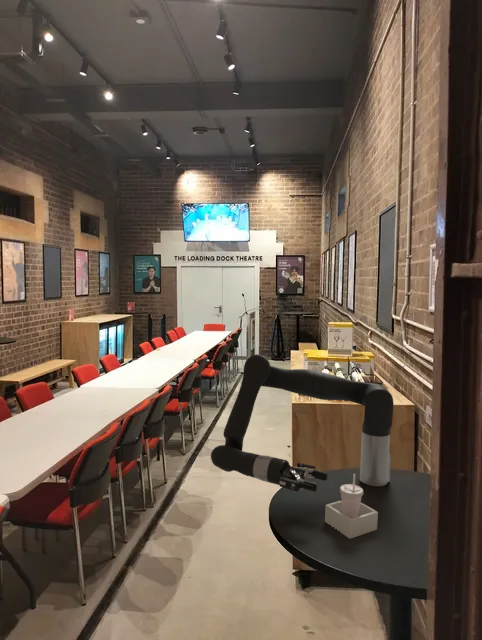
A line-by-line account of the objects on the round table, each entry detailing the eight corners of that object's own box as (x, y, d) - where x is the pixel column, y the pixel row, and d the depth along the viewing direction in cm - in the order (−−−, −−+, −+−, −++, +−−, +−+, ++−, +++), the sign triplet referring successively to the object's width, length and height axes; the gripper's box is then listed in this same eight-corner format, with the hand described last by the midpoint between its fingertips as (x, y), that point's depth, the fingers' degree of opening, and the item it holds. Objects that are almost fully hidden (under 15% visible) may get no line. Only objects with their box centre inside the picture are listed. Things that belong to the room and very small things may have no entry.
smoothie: (362, 529, 129) (364, 479, 128) (338, 526, 130) (340, 477, 129) (361, 517, 135) (363, 470, 134) (338, 515, 136) (340, 468, 135)
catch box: (351, 513, 140) (352, 497, 139) (377, 529, 131) (377, 512, 130) (324, 521, 134) (325, 504, 134) (349, 538, 126) (350, 520, 125)
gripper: (260, 465, 137) (313, 478, 130) (281, 450, 150) (330, 461, 142) (260, 490, 138) (312, 504, 130) (280, 473, 150) (329, 485, 143)
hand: (321, 482), depth 136 cm, fingers open, 8 cm apart
